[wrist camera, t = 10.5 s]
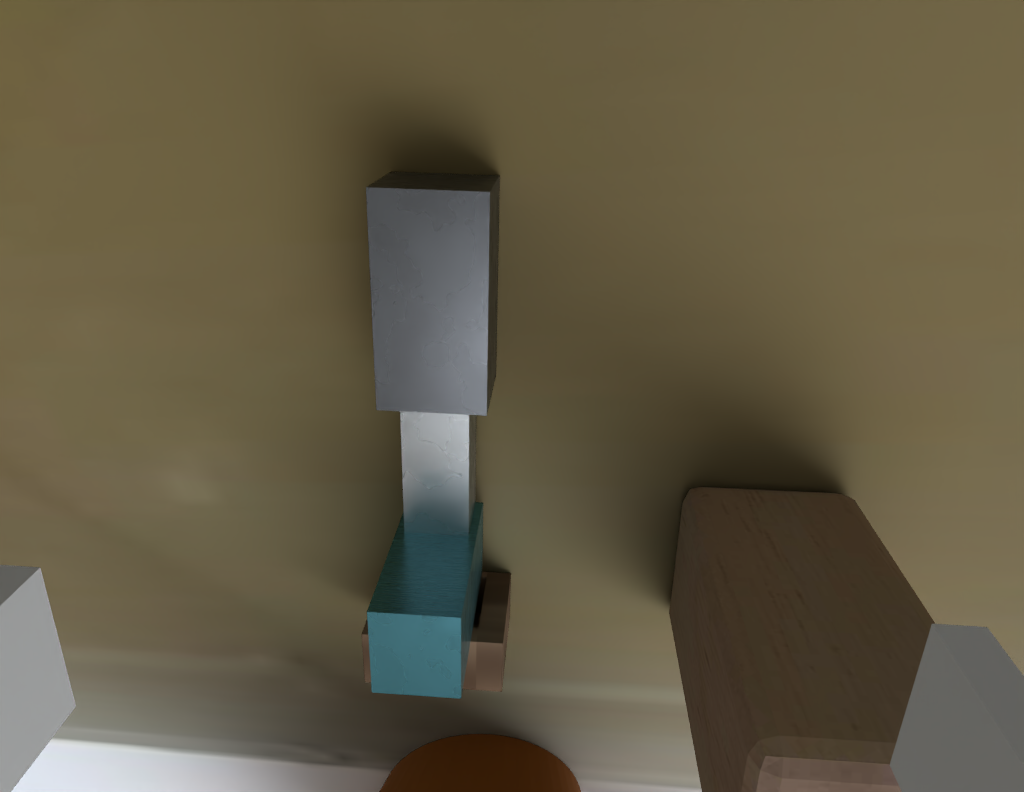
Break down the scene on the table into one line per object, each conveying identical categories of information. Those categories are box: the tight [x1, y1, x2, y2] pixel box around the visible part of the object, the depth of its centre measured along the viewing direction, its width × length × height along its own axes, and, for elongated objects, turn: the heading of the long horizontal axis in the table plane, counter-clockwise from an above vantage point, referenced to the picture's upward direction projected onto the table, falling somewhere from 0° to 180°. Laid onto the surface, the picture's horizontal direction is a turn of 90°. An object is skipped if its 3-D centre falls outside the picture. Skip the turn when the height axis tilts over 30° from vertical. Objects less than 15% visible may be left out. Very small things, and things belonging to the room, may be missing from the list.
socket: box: [362, 572, 511, 692], centre depth 47 cm, size 4×8×6 cm, turn 88°
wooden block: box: [669, 487, 935, 792], centre depth 38 cm, size 10×10×20 cm
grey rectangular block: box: [366, 172, 500, 416], centre depth 40 cm, size 11×6×6 cm, turn 178°
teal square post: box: [367, 411, 483, 699], centre depth 41 cm, size 19×4×10 cm, turn 178°
